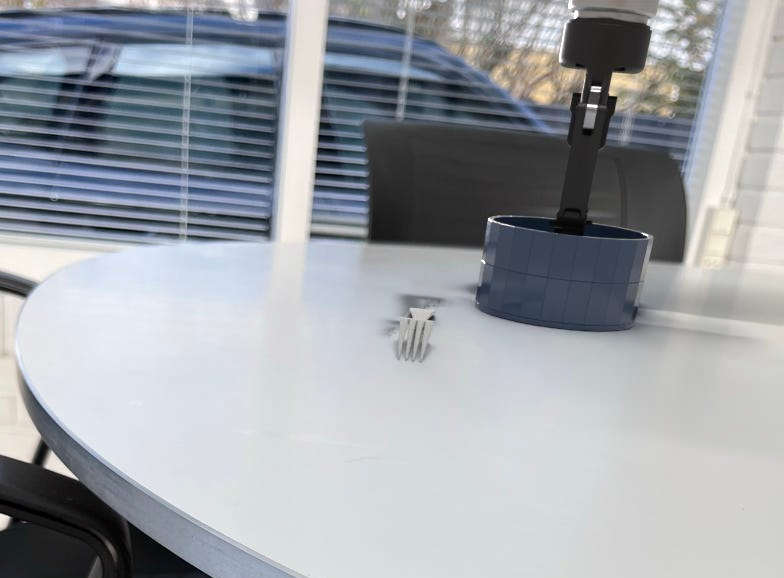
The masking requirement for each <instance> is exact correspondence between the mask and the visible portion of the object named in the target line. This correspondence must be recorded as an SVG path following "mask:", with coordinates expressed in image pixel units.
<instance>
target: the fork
mask: <svg viewBox="0 0 784 578" xmlns="http://www.w3.org/2000/svg"><path fill="white" fill-rule="evenodd" d="M409 312H410V314H411V317H404V316H400V317H399V329H398V331H399V332H398V341H397V342H398V345H397V360H400V359H401V355H402V350H403V346H404V341H405V337H406V332H407V338H406V347H405V361H408V358H409V354H410V352H411V351H410V350H411V346H412V343H413V349H412V358H411V359H412V362H414V361H415V358H416V355H417V352H418V348H419V346H420V340H421V336H422V342H421V350H420V358H419V362H420V363H422V362H423V359H424V356H425V353H426V349H427V347H428V343H429V340H430V337H431V334H432V330H433V327H434V324H435V323H436V321H435V320H430V318H431V317H432V316H434V315H435V314H436V313H437V311H436V310H435V309H426V308H418V307H409ZM407 328H408V329H407ZM423 328H424V329H423ZM414 333H415V335H414ZM422 333H423V335H422ZM413 338H414V341H413Z"/></svg>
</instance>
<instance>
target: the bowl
mask: <svg viewBox="0 0 784 578" xmlns="http://www.w3.org/2000/svg"><path fill="white" fill-rule="evenodd" d="M549 219H554V220H556V218H551V217H542V216H541V217H540V216H528V215H527V216H525V215H495V216H490V217H488V218H487V224H486V229H485V237H484V243H483V248H482V249H483V250H482V254H481V255H482V256H481V261H480V268H479V274H478V281H477V288H476V293H475V302H474V303H475V304H474V305H475V308H477V309H478V310H480V311H481V312H484V313H486V314H488V315H491V316H494V317H498V318H501V319H505V320H508V321H513V322H517V323H522V324H526V325H527V324H528V325H533V326H540V327H546V328H552V329H554V328H555V329H562V330H563V329H564V330H572V331H584V330H586V331H588V332H614V331H616V330H617V331H625V330H628V329H631V328H632V327H634V325H635V322H636V320H637V315H638V310H639V307H640V301H641V298H642V297H641V296H642V293H643V288H644V284H645V280H646V274H647V270H648V265H649V262H650V257H651V253H652V248H653V244H654V239H655V238H654V236H653V235H652V234H649V233H646V232H643V231H640V230H636V229H630V228H625V227H620V226H615V225H609V224H602V223H595V222H592V226H583V227H585V230H584V235H583V236H576V235H568V234H559V233H554V229H555V227H551V226H548V225H549Z"/></svg>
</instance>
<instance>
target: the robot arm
mask: <svg viewBox="0 0 784 578" xmlns="http://www.w3.org/2000/svg"><path fill="white" fill-rule="evenodd" d="M659 4H660V0H569V1H568V8H567V9H568V10H569V11H570V12H571V13H573V15H574V16H573V18H570V19H568V20H567V22H565V23H564V27H563V33H562V38H561V45H560V50H559V56H558V63H559V65H560V66H561V67H563V68H566V69H571V70H580V71H581V70H582V71H585V75H584V81H583V85H582V90H581V92H576V91H574V92H572V94H571V95H572V96H571V101H570V104H569V105H570V106H569V113H570V120H569V121H570V122H569V125H568V126H569V127H568V133H567V138H566V143H567V146H568V147H569V154H568V157H567V164H566V170H565V175H564V181H563V186H562V192H561V197H560V202H559V208H558V210H557V211H556V218H553V219H549V225H548V226H551V227H555V229H554V233H559V234H568V235H576V236H583V235H584V230H585V227H583V226H592V223H594V218H593V217H588V214H589V200H590V196H591V191H592V185H593V180H594V175H595V171H596V164H597V160H598V155H599V152H600V151H601V150H603V149H605V146H606V143H607V138H608V133H609V127H610V124H611V123H610V122H611V119H612V118H613V117H614V115H615V113H616V107H617V102H618V97H619V95H610V89H611V88H610V87H611V84H612V78H613V73H614V74H616V73H617V74H626V75H638V74H641V73H642V72H643V71H644V69H645V68H646V63H647V58H648V53H649V49H650V44H651V38H652V34H653V30H651V26H650V25H649V24H648V21H649V20H652V19H653V18H655V17H656V16H657V14H658V8H659ZM554 219H556V220H554Z"/></svg>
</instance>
